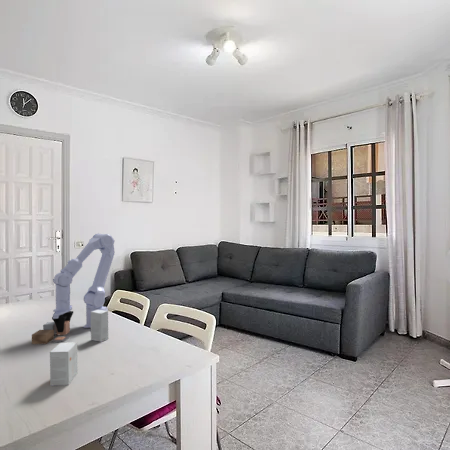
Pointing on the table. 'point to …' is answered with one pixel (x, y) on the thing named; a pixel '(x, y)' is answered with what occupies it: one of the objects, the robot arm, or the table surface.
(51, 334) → the walnut block
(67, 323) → the terracotta block
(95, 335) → the skincare box
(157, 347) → the table surface
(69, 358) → the small box
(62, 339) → the tile
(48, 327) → the slate block
